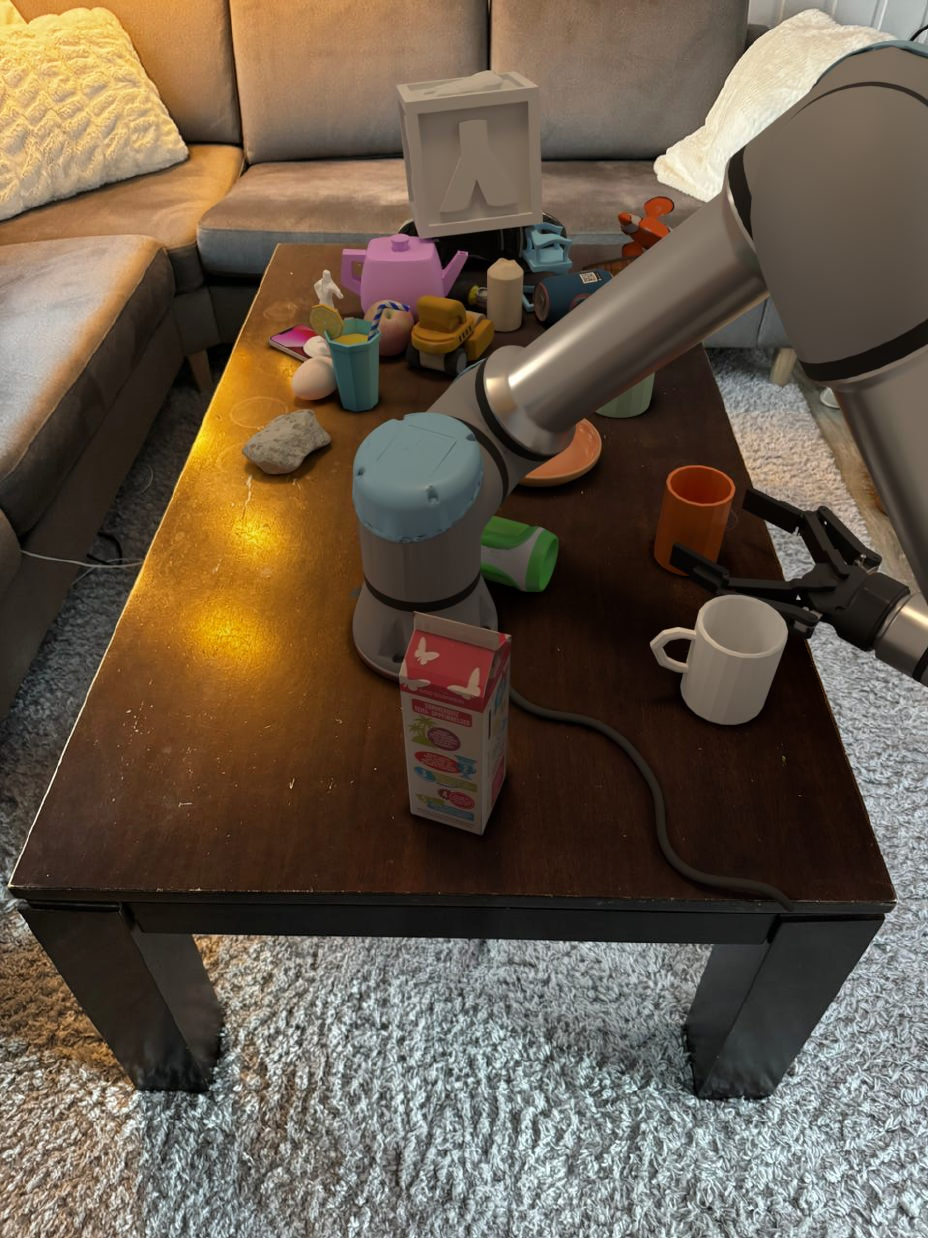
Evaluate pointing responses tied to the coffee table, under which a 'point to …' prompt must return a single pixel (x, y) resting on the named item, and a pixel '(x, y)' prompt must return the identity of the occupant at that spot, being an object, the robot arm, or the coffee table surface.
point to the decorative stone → (286, 442)
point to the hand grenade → (468, 293)
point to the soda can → (566, 292)
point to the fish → (645, 226)
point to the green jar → (630, 400)
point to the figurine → (327, 288)
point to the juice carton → (455, 719)
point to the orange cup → (693, 513)
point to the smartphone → (293, 340)
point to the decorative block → (472, 153)
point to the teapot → (399, 271)
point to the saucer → (568, 459)
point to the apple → (392, 328)
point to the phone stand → (545, 254)
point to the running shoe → (486, 243)
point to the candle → (505, 295)
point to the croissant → (612, 264)
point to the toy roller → (447, 335)
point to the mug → (728, 658)
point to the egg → (314, 379)
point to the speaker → (518, 554)
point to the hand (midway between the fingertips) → (710, 523)
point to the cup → (353, 352)
